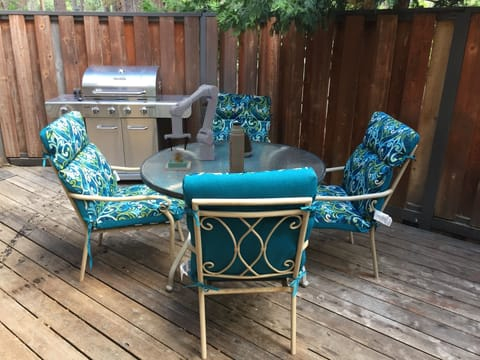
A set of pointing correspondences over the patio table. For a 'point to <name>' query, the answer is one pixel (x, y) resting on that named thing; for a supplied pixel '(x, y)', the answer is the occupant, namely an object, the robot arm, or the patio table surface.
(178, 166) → the dock
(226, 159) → the patio table surface
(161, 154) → the patio table surface
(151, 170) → the patio table surface
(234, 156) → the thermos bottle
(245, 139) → the pump dispenser
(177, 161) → the cardboard box
